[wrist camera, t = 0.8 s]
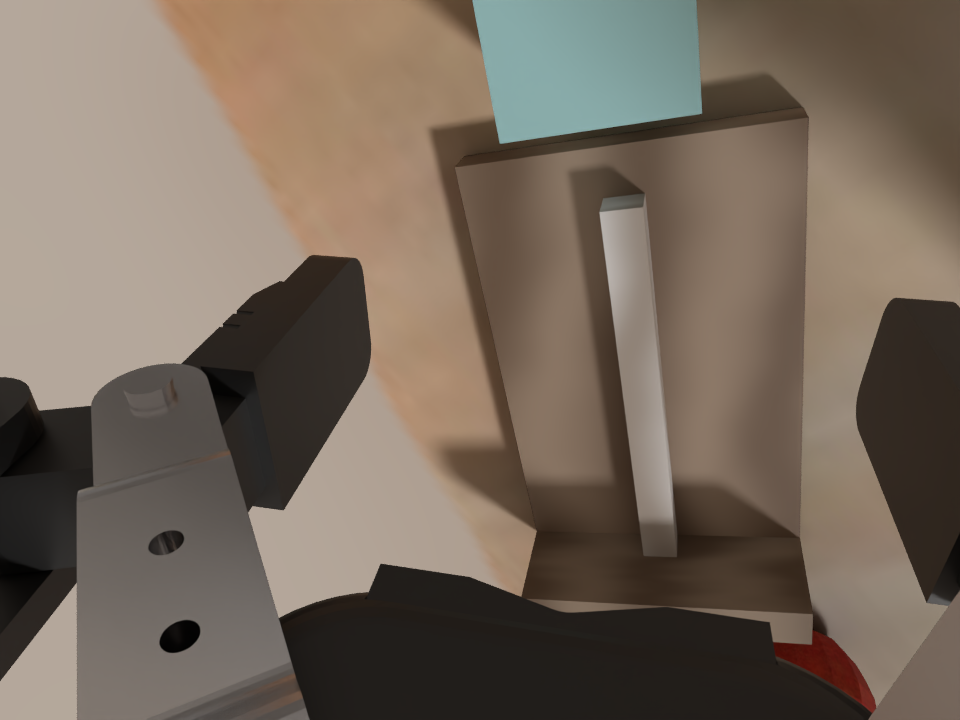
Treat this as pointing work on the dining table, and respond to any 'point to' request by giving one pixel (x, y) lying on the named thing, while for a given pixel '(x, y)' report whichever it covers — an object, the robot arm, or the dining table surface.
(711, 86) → the dining table surface
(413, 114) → the dining table surface
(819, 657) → the apple
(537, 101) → the cabinet block
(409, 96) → the dining table surface
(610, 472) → the cleat board
